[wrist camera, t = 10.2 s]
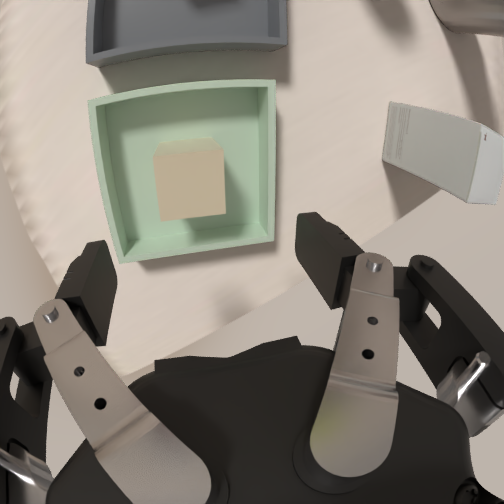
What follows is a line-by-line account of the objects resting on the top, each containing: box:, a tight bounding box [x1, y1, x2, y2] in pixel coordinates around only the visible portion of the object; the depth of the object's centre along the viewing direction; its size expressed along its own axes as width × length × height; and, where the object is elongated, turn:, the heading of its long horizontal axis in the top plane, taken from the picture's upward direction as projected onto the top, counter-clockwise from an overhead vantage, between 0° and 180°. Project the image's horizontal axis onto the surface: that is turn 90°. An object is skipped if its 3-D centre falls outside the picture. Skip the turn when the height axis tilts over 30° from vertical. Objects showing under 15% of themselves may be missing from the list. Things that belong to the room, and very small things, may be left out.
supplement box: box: [382, 101, 504, 205], centre depth 22 cm, size 7×7×13 cm
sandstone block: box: [153, 137, 226, 222], centre depth 20 cm, size 4×4×6 cm
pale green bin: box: [88, 79, 276, 264], centre depth 22 cm, size 14×14×4 cm
